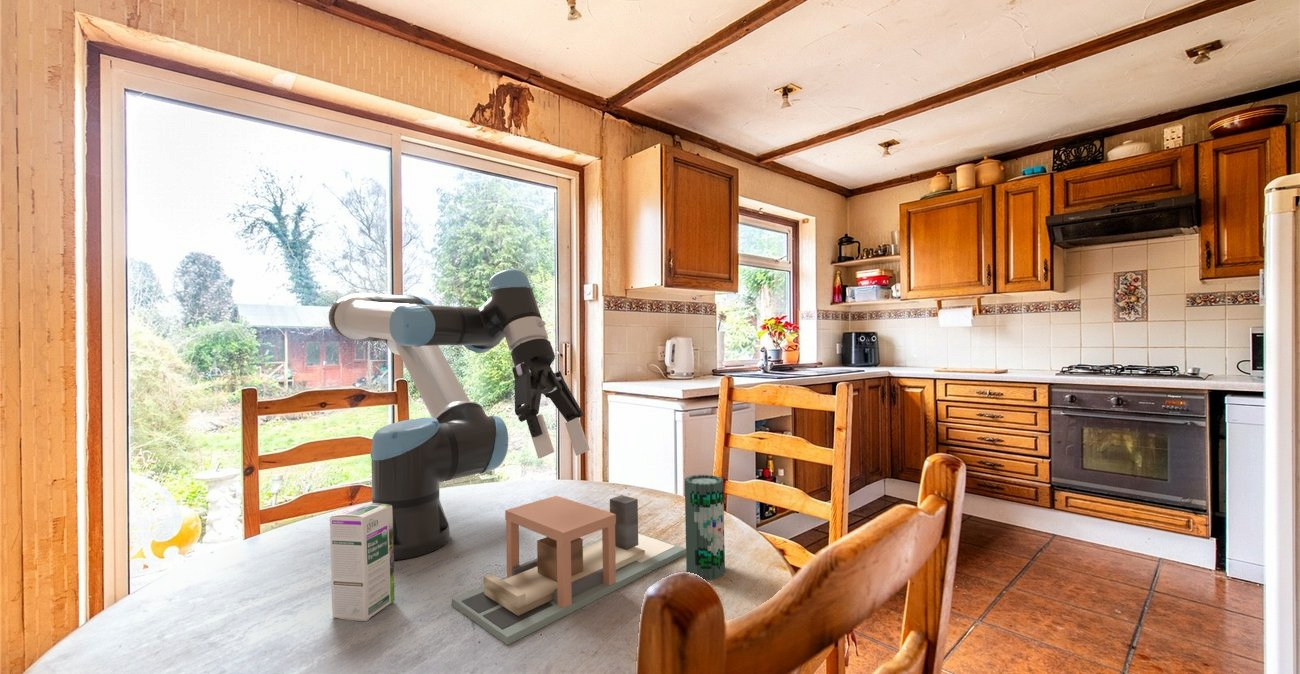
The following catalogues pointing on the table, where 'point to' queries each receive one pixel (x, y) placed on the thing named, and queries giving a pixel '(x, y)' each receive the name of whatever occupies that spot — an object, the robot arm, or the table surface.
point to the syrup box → (362, 561)
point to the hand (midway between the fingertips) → (566, 454)
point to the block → (549, 557)
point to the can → (704, 526)
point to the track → (561, 566)
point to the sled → (538, 589)
